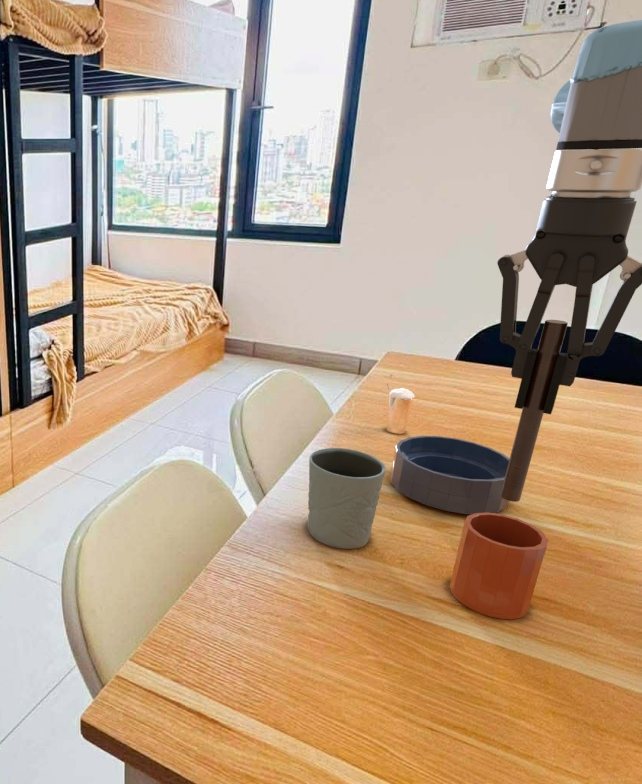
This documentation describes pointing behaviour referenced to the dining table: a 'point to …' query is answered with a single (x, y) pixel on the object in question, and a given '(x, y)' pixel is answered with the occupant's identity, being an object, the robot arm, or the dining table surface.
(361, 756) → the dining table surface
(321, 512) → the grey cup
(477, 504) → the bowl
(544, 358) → the stirring stick
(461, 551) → the pot
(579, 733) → the dining table surface
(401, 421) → the milkshake
